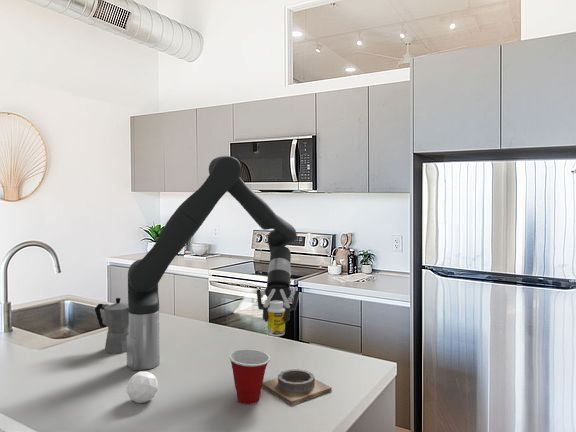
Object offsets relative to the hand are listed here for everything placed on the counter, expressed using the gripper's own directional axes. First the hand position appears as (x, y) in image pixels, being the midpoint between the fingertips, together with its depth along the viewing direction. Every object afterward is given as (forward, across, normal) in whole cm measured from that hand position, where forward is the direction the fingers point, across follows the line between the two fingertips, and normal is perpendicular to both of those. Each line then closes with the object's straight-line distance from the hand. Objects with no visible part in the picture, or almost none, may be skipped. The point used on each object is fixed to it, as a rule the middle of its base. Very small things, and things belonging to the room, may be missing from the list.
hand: (275, 320), depth 138 cm
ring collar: (+20, +7, +2) cm, 21 cm away
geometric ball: (+27, -33, -4) cm, 43 cm away
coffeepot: (+1, -57, +22) cm, 61 cm away
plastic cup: (+25, -5, -3) cm, 26 cm away
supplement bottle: (+2, 0, +5) cm, 5 cm away
